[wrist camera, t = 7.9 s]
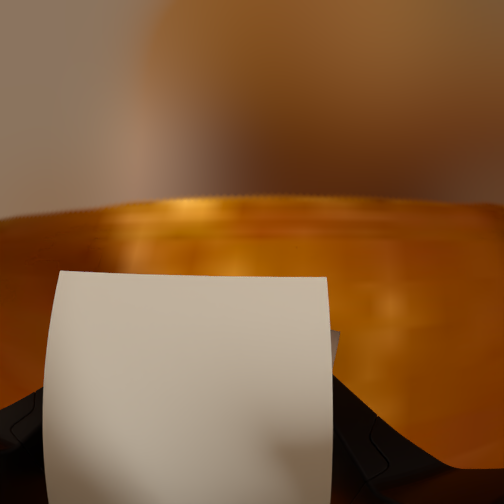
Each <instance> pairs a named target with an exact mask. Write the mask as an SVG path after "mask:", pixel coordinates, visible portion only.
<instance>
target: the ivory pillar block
mask: <svg viewBox="0 0 504 504" xmlns="http://www.w3.org/2000/svg"><path fill="white" fill-rule="evenodd" d="M332 448H333V388H332V355H331V334H330V317H329V302H328V289H327V277H229V276H183V275H149V274H121V273H97V272H76V271H60V273H59V278H58V282H57V287H56V292H55V297H54V303H53V308H52V314H51V321H50V327H49V334H48V342H47V351H46V361H45V372H44V388H43V452H44V467H45V478H46V487H47V495H48V502H49V504H330V498H331V479H332Z"/></svg>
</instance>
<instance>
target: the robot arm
mask: <svg viewBox="0 0 504 504" xmlns="http://www.w3.org/2000/svg"><path fill="white" fill-rule="evenodd" d="M43 388H44V387H42V388H40V389H38V390H37V391H36V393H35V392H33V393H32V394H30V395H28V396H26V397H25V398H23V399H21V400H19V401H17V402H16V403H14V404H12V405H10V406H8V407H6V408H3V409H1V410H0V504H49V502H48V495H47V487H46V478H45V467H44V452H43ZM332 388H333V448H332V479H331V498H330V504H504V468H502V469H459V468H454V467H451V466H449V465H446V464H444V463H443V462H441V461H439V460H438V459H436V458H434V457H433V456H431V455H430V454H428V453H427V452H425V451H424V450H422V449H421V448H419V447H418V446H416V445H415V444H413V443H412V442H410V441H409V440H408V439H406V438H405V437H403V436H402V435H401V434H399V433H398V432H397V431H396V430H394V429H393V428H392V427H391V426H389V425H388V424H387V423H386V422H385V421H384V420H383V419H381V418H380V417H379V416H377V414H376V413H375V412H373V411H372V410H371V409H370V408H369V407H368V406H367V405H366V404H365V403H363V402H362V401H361V400H360V399H359V398H358V397H357V396H356V395H355V394H354V393H352V392H351V391H350V390H349V389H348V388H347V387H346V386H345V385H344V384H343V383H342V382H340V381H339V380H338V379H337V378H336V377H335V376H334V375H333V374H332Z"/></svg>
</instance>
